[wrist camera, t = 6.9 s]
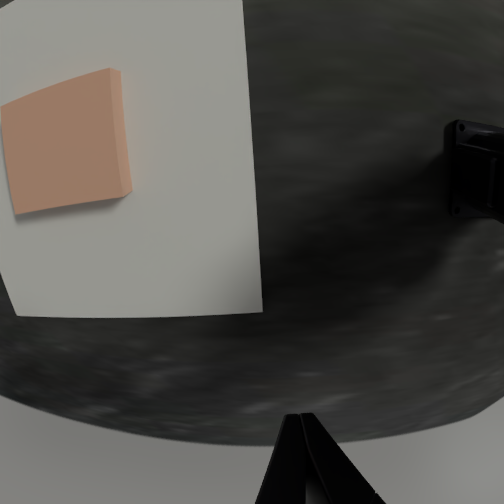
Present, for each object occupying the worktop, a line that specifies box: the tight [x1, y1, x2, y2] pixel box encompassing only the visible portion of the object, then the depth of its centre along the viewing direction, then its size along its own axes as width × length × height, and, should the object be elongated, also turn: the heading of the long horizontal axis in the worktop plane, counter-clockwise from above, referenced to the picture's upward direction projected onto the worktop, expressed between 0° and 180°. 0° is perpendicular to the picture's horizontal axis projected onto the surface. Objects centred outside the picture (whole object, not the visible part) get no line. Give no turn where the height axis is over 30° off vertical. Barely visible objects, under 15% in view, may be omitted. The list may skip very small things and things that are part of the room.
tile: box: [0, 68, 133, 215], centre depth 15 cm, size 2×7×8 cm
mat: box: [0, 0, 263, 318], centre depth 16 cm, size 20×24×1 cm
